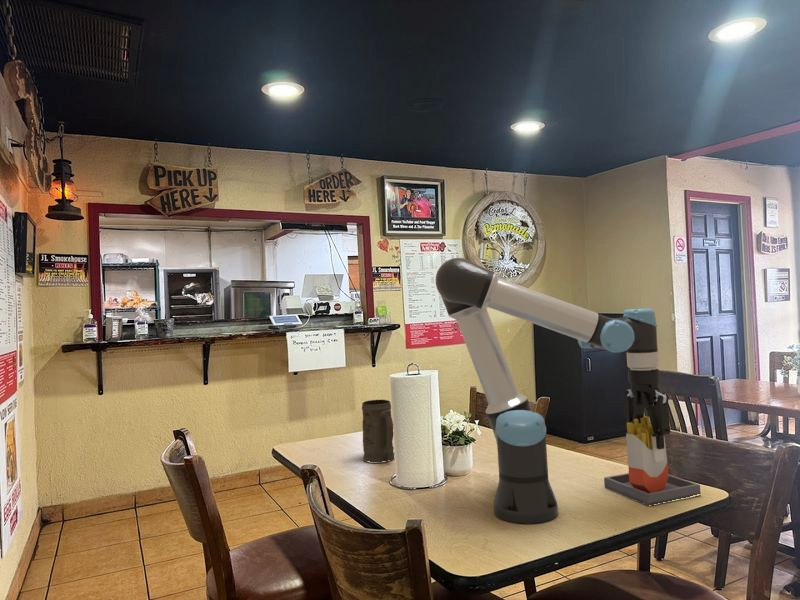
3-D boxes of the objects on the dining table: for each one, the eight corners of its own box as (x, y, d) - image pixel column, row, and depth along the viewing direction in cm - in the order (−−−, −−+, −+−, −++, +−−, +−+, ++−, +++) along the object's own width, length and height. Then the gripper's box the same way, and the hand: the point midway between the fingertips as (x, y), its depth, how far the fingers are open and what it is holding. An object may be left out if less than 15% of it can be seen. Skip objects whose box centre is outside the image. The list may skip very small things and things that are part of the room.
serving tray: (649, 506, 136) (648, 494, 136) (604, 488, 151) (604, 477, 151) (700, 496, 141) (700, 484, 141) (652, 479, 156) (652, 468, 156)
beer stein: (355, 459, 194) (354, 401, 193) (380, 453, 201) (379, 397, 200) (384, 470, 182) (383, 409, 182) (409, 463, 189) (408, 403, 189)
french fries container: (670, 487, 146) (665, 416, 147) (646, 496, 140) (641, 422, 141) (654, 483, 150) (649, 415, 151) (629, 492, 144) (624, 420, 144)
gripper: (683, 369, 139) (689, 464, 139) (629, 364, 156) (635, 449, 156) (658, 372, 137) (665, 469, 136) (607, 367, 154) (613, 452, 154)
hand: (649, 458), depth 146 cm, fingers open, 5 cm apart
